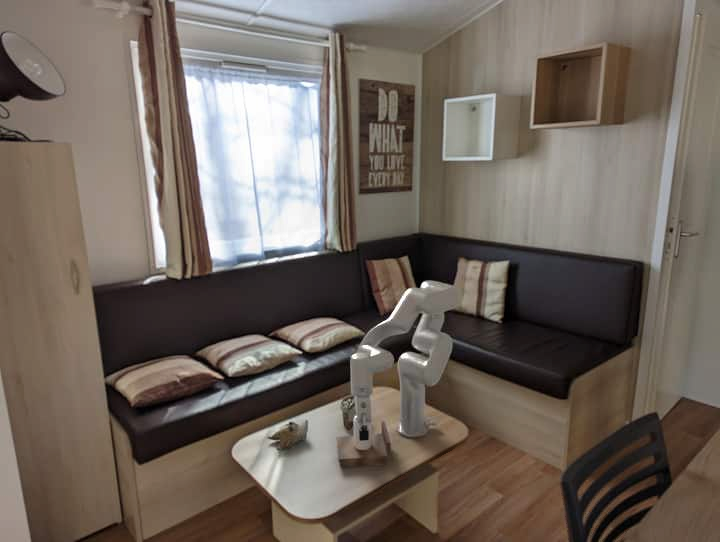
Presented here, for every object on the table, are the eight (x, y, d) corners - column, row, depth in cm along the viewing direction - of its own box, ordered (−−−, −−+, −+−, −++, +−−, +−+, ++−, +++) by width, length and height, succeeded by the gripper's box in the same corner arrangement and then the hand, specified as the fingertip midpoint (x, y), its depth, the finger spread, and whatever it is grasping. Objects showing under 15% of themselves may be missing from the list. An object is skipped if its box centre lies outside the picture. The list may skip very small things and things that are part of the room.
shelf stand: (384, 442, 189) (384, 421, 187) (390, 465, 176) (390, 442, 173) (336, 446, 187) (336, 424, 185) (338, 469, 174) (338, 446, 172)
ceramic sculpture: (313, 422, 188) (275, 436, 180) (315, 442, 190) (278, 457, 183) (301, 410, 196) (264, 423, 189) (303, 429, 199) (267, 443, 191)
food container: (351, 413, 210) (350, 391, 208) (363, 417, 207) (363, 395, 205) (334, 427, 200) (333, 404, 197) (347, 431, 197) (347, 408, 194)
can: (364, 453, 176) (364, 422, 173) (350, 446, 180) (349, 416, 177) (375, 444, 181) (375, 414, 178) (361, 438, 185) (360, 408, 182)
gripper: (375, 399, 167) (376, 445, 171) (369, 376, 184) (370, 418, 188) (353, 401, 166) (354, 447, 171) (349, 377, 183) (350, 420, 187)
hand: (362, 432), depth 179 cm, fingers open, 9 cm apart
